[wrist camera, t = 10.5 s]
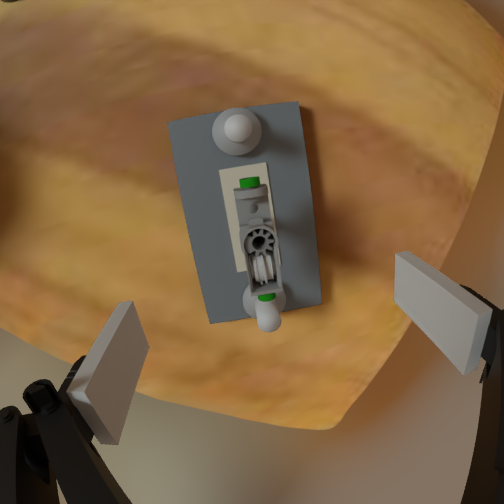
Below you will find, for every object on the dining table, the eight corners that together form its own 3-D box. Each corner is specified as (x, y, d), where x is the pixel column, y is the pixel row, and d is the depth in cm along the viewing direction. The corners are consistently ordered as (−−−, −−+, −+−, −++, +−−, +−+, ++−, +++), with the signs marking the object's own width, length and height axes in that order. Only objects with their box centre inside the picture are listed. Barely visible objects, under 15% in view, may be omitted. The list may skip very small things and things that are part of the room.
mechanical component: (257, 168, 33) (269, 176, 23) (270, 259, 36) (285, 299, 26) (229, 173, 33) (230, 182, 23) (244, 264, 36) (251, 305, 26)
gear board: (170, 123, 32) (154, 116, 25) (294, 103, 33) (312, 91, 25) (210, 316, 40) (207, 352, 32) (317, 297, 40) (336, 329, 33)
